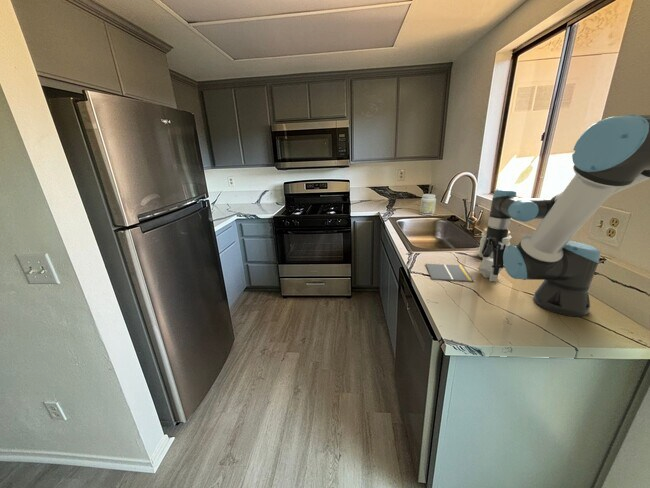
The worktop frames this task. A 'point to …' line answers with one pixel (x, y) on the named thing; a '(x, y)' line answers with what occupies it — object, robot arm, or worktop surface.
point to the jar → (482, 240)
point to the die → (486, 267)
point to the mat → (449, 272)
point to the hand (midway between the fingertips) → (488, 275)
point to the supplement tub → (428, 204)
